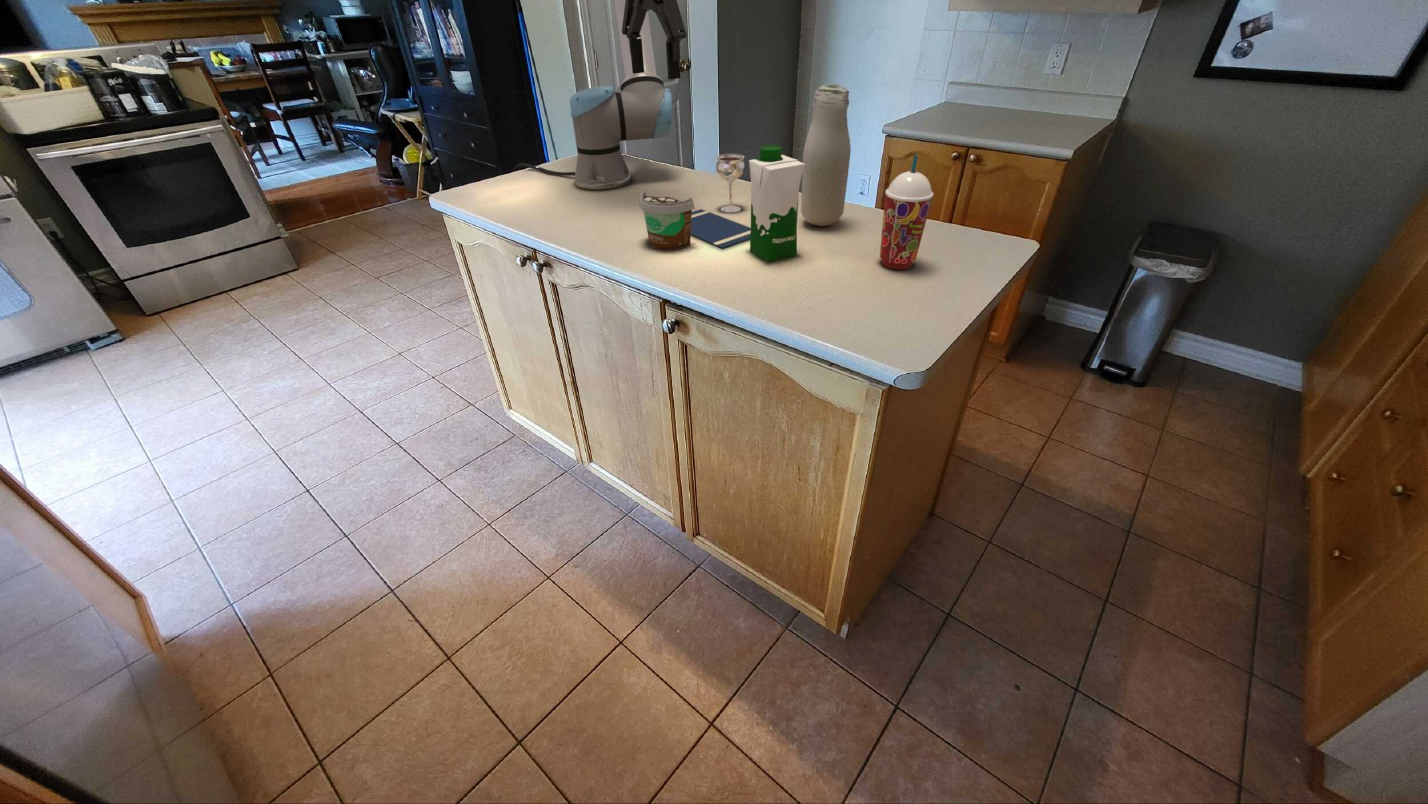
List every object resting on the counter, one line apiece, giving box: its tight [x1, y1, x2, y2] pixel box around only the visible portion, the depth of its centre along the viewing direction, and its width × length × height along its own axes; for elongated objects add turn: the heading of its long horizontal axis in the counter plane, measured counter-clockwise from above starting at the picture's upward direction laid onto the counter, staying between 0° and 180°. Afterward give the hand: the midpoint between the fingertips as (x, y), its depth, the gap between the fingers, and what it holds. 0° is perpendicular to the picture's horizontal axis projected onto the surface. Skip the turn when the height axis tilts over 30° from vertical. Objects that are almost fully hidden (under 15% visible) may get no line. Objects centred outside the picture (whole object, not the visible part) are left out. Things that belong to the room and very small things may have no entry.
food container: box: [638, 190, 695, 251], centre depth 118 cm, size 12×6×10 cm, turn 63°
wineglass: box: [715, 153, 746, 213], centre depth 136 cm, size 7×7×12 cm
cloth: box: [691, 208, 751, 250], centre depth 129 cm, size 22×12×1 cm, turn 40°
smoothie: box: [879, 154, 934, 270], centre depth 105 cm, size 8×8×20 cm
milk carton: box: [748, 144, 805, 264], centre depth 111 cm, size 9×9×20 cm
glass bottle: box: [800, 84, 852, 227], centre depth 121 cm, size 10×10×28 cm
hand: (655, 76), depth 124 cm, fingers open, 13 cm apart
